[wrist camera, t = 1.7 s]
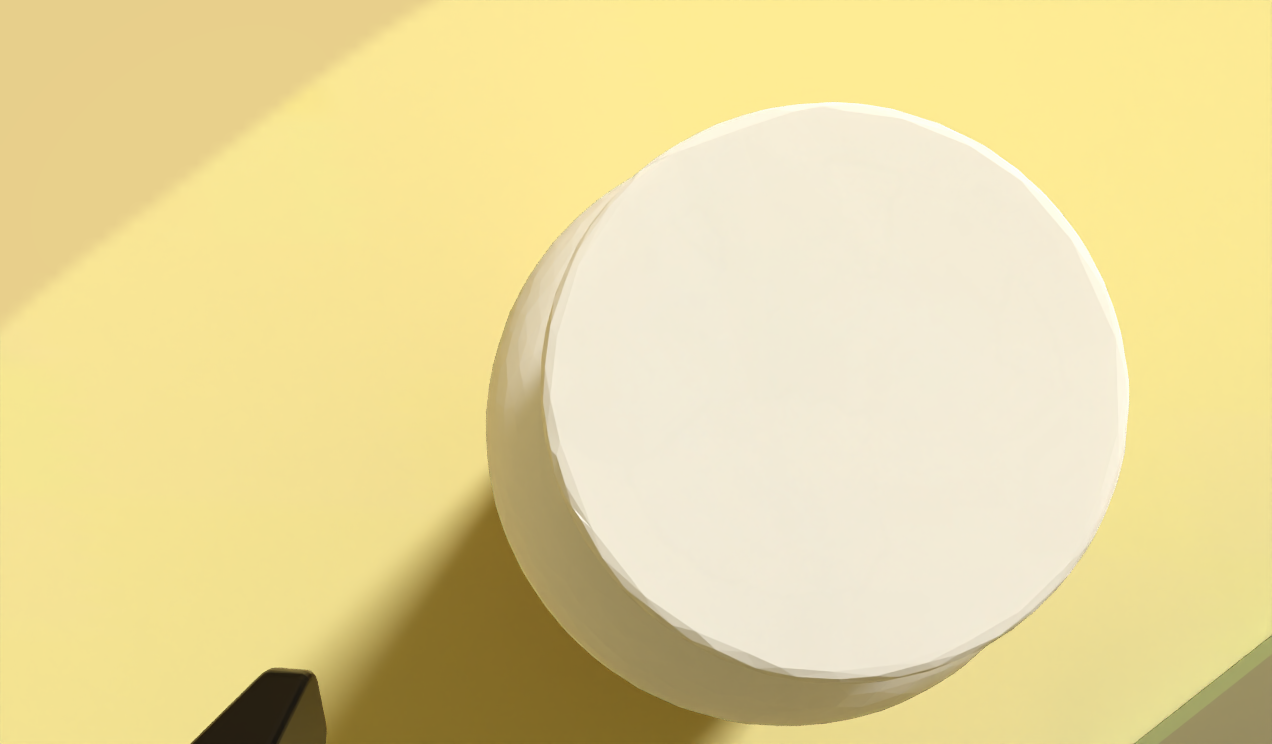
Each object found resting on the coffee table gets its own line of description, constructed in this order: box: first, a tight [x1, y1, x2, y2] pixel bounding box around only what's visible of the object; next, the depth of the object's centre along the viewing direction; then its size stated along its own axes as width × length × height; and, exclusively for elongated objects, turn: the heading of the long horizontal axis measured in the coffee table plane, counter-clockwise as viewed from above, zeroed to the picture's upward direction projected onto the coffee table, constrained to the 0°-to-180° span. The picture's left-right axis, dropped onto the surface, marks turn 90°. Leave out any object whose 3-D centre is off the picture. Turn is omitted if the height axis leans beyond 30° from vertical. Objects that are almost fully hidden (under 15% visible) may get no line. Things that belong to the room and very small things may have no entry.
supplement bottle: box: [486, 102, 1129, 726], centre depth 14 cm, size 7×7×13 cm
